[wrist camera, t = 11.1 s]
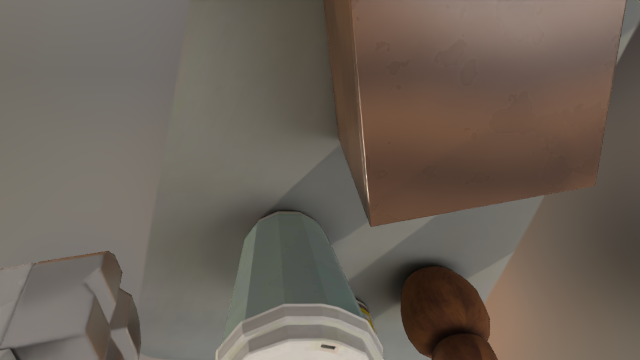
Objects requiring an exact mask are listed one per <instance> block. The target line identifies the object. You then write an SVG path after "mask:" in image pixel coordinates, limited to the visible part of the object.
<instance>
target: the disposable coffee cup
mask: <svg viewBox="0 0 640 360" xmlns="http://www.w3.org/2000/svg"><path fill="white" fill-rule="evenodd" d="M382 351H383V347H382V345H381V343H380V341H379V340H378V338H377V336H376V334H375V333H374V331H373V329H372V327H371V326H370V324H369V322H368V321H367V320H365V318H364V316H363V314H362V311H361V309H360V307H359V305H358V303H357V301H356V298H355V296H354V294H353V292H352V290H351V288H350V285H349V283H348V281H347V279H346V277H345V275H344V273H343V270H342V268H341V266H340V264H339V262H338V260H337V257H336V255H335V253H334V251H333V249H332V247H331V245H330V242H329V240H328V238H327V237H326V235H325V233H324V231H323V229H322V228H321V226H320V224H319V223H317V222H316V221H315V220H313V219H312V218H310V217H308V216H306V215H304V214H302V213H300V212H289V211H278V212H275V213H273V214H271V215H268V216H266V217H264V218H262V219H259V221H258V222H257V223H256V225H255V226H254V227H253V228H252V230H251V231H250V232H249V233H248V235H247V236H246V238H245V240H244V244H243V249H242V254H241V259H240V263H239V268H238V273H237V277H236V282H235V287H234V292H233V296H232V301H231V306H230V310H229V315H228V320H227V325H226V329H225V334H224V339H223V343H222V344H221V346H220V347H219V348H218V349H217V350H216V360H384V357H383V352H382Z"/></svg>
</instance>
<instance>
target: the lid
mask: <svg viewBox="0 0 640 360" xmlns="http://www.w3.org/2000/svg"><path fill="white" fill-rule="evenodd" d="M626 1H627V0H348V4H349V15H350V26H351V37H352V48H353V60H354V71H355V82H356V93H357V105H358V116H359V127H360V138H361V150H362V161H363V172H364V183H365V195H366V206H367V217H368V221H369V224H370V226H371V227H372V226H378V225H383V224H389V223H394V222H400V221H405V220H410V219H416V218H421V217H427V216H432V215H438V214H443V213H449V212H454V211H459V210H465V209H470V208H476V207H481V206H487V205H492V204H498V203H503V202H508V201H514V200H519V199H525V198H530V197H536V196H541V195H547V194H552V193H557V192H563V191H568V190H573V189H579V188H585V187H590V186H594V185H595V184H596V178H597V172H598V166H599V160H600V154H601V149H602V143H603V136H604V131H605V125H606V118H607V113H608V107H609V101H610V95H611V89H612V83H613V77H614V71H615V66H616V60H617V54H618V48H619V42H620V36H621V30H622V24H623V18H624V12H625V6H626Z"/></svg>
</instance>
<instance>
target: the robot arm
mask: <svg viewBox="0 0 640 360" xmlns="http://www.w3.org/2000/svg"><path fill="white" fill-rule="evenodd" d="M121 277H122V270H121V268H120V266H119V264H118V261H117V259H116V257H115V255H114V254H112V253H111V252H109V251H105V252H98V253H93V254H86V255H79V256H74V257H67V258H61V259H55V260H48V261H42V262H38V263H30V264H25V265H19V266H13V267H8V268H2V269H0V360H139V355H140V347H141V335H140V322H139V317H138V313H137V309H136V306H135V303H134V301H133V298H132V295H130V294H128V293H127V292H125V291H124V290H122V289H120V283H121Z"/></svg>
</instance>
